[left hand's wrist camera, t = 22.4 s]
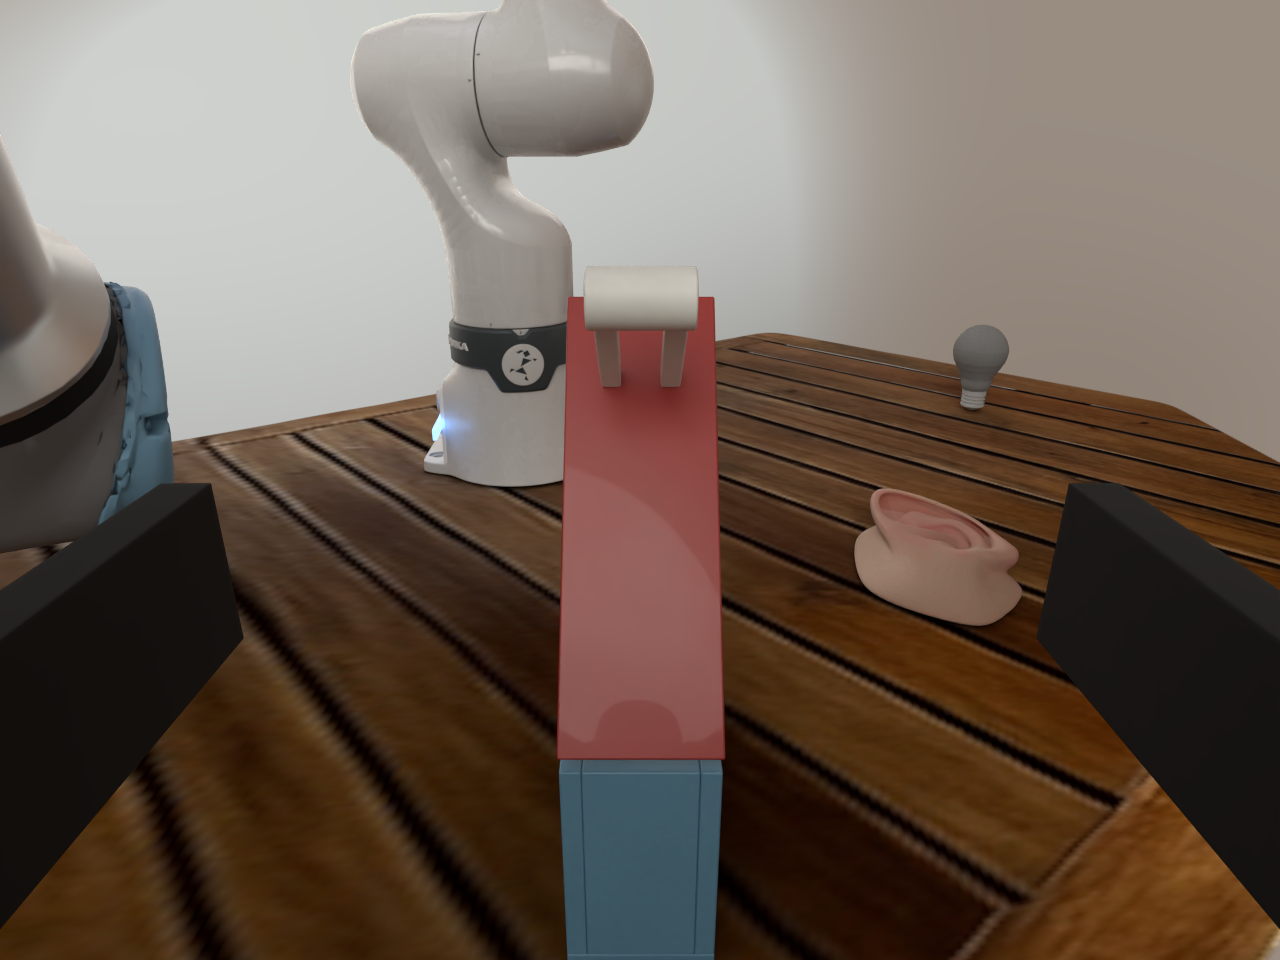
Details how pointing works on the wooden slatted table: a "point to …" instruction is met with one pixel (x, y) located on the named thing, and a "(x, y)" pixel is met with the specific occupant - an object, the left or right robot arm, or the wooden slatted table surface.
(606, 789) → the chest
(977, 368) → the light bulb
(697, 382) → the lid
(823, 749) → the wooden slatted table surface
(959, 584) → the anatomical model
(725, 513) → the wooden slatted table surface
